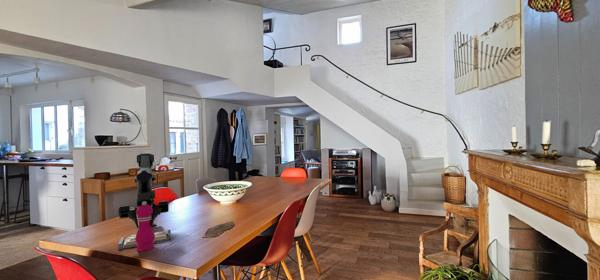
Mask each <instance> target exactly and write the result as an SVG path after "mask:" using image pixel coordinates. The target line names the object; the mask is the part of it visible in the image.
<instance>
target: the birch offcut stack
mask: <svg viewBox="0 0 600 280" xmlns="http://www.w3.org/2000/svg"><path fill="white" fill-rule="evenodd" d="M166 233H167V232H166V230H163V231H157V232H154V234H155V239H154V240H153V241H157V240H163V239H167V236H166ZM136 234H137V233H136ZM136 234H131V235H130V236H128V237H127V238H124V241H125V242H124V246H129V245H135V244H137V243H136V241H135V237H136Z"/></svg>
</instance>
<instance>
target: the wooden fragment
mask: <svg viewBox="0 0 600 280" xmlns="http://www.w3.org/2000/svg"><path fill="white" fill-rule="evenodd" d="M235 226H236V225H235V222H234V221H233V220H231V221H227V222H224V223H220V224H217V225H214V226H212V227H209V228H207V230H206V231H205V233H204V235H203V236H202V239H209V238H215V237H220V235H221V234H223V233H224V232H225V231H229V230H232V229H233V227H235Z"/></svg>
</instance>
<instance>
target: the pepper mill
mask: <svg viewBox="0 0 600 280" xmlns="http://www.w3.org/2000/svg"><path fill="white" fill-rule="evenodd" d="M152 212H153V209H152V207H151V206H150V205H147V202H146V201H143V202H142V205H141V206H139V207H138V208H137V210H136V215H137V221H138V226H139V227H138V228H137V232H136V237H135V241H136V243H137V244H138V245H137V246H136V251H137V252H145V251H149V250H152V249H153V248H154V247H155V243H154V242H152V241H153V240H154V239H155V234H154V233H155V231H154V229H153V227H151V224H150V219H151V213H152ZM138 216H139V217H138Z"/></svg>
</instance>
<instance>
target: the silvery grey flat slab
mask: <svg viewBox="0 0 600 280" xmlns="http://www.w3.org/2000/svg"><path fill="white" fill-rule="evenodd" d="M166 236H167V239H163V240H157V241H152V242H154V244H156V243H162V242H168V241H171V240H172V233H171V229H167V232H166ZM124 242H125V236H124V237H123V236H122V237H120V239H119V241H118V250H119V249H120V250H124V248H125V249H129V248H130V249H131V248H135V247H136V248H137V245H138V244H135V245H129V246H124Z"/></svg>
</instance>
